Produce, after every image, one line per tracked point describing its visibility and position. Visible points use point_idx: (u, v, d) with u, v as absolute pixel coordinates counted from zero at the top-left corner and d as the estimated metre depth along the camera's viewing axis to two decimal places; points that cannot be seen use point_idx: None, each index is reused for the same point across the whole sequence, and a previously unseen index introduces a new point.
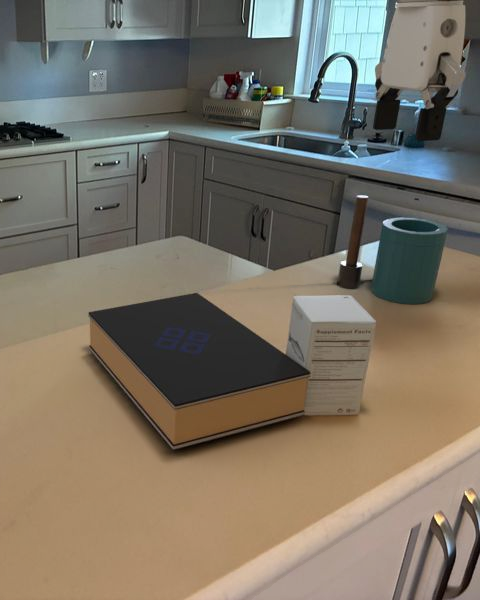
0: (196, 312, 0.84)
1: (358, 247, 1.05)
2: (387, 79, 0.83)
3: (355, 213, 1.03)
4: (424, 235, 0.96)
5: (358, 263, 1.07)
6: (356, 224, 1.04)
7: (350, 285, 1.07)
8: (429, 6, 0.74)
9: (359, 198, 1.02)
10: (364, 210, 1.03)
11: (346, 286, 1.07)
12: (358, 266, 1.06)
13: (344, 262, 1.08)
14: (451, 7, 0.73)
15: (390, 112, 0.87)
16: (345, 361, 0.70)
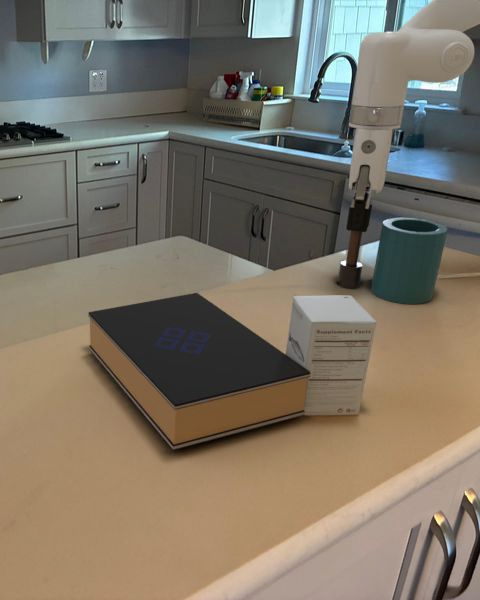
0: (196, 312, 0.84)
1: (358, 247, 1.05)
2: None
3: None
4: (424, 235, 0.96)
5: (358, 263, 1.07)
6: None
7: (350, 285, 1.07)
8: (357, 128, 0.96)
9: None
10: None
11: (346, 286, 1.07)
12: (358, 266, 1.06)
13: (344, 262, 1.08)
14: (371, 131, 0.94)
15: None
16: (345, 361, 0.70)
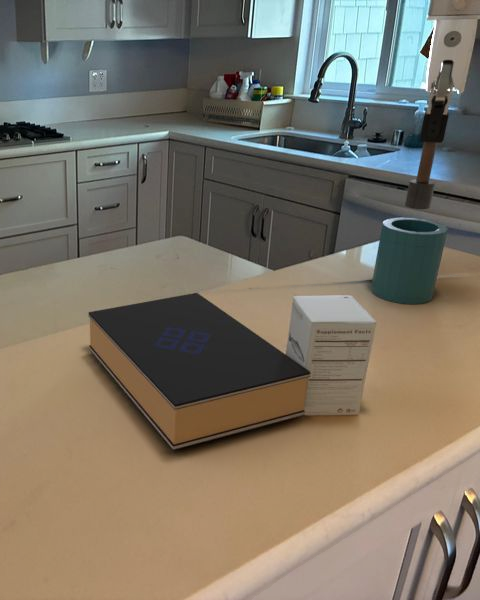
0: (196, 312, 0.84)
1: (431, 161, 0.95)
2: None
3: None
4: (424, 235, 0.96)
5: (430, 181, 0.97)
6: None
7: (420, 205, 0.97)
8: (439, 20, 0.86)
9: None
10: None
11: (416, 206, 0.97)
12: (431, 183, 0.96)
13: (414, 180, 0.98)
14: (456, 21, 0.84)
15: None
16: (345, 361, 0.70)
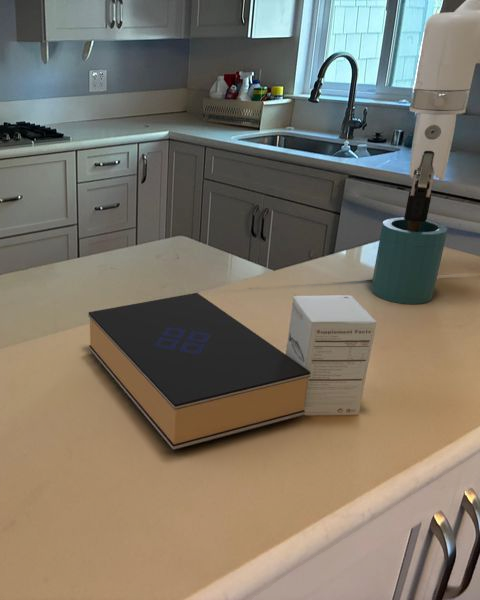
0: (196, 312, 0.84)
1: None
2: None
3: None
4: (424, 235, 0.96)
5: None
6: None
7: None
8: (421, 113, 0.92)
9: None
10: None
11: None
12: None
13: None
14: (436, 116, 0.91)
15: None
16: (345, 361, 0.70)
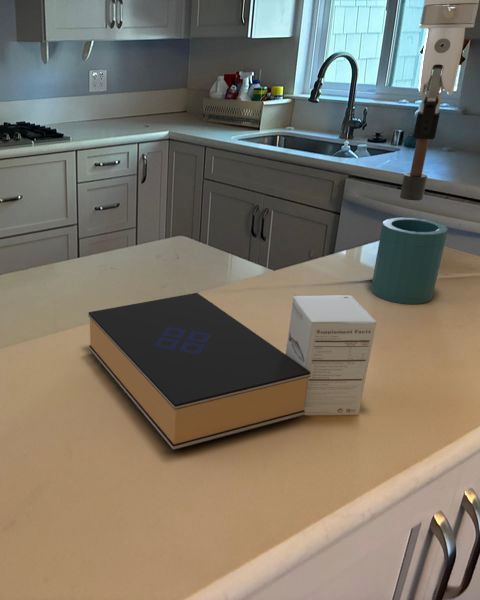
0: (196, 312, 0.84)
1: (424, 156, 1.04)
2: None
3: None
4: (424, 235, 0.96)
5: (422, 174, 1.07)
6: None
7: (414, 197, 1.06)
8: (430, 28, 0.95)
9: None
10: None
11: (410, 198, 1.07)
12: (423, 176, 1.05)
13: (408, 174, 1.07)
14: (445, 29, 0.94)
15: None
16: (345, 361, 0.70)
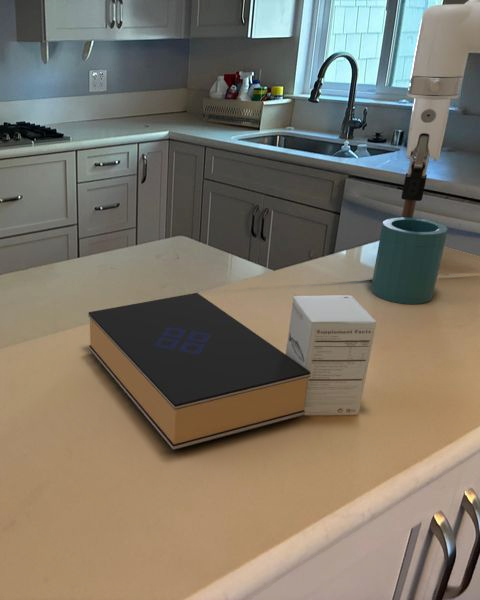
0: (196, 312, 0.84)
1: (412, 216, 1.09)
2: None
3: None
4: (424, 235, 0.96)
5: None
6: None
7: None
8: (417, 98, 1.00)
9: None
10: None
11: None
12: None
13: None
14: (431, 101, 0.98)
15: None
16: (345, 361, 0.70)
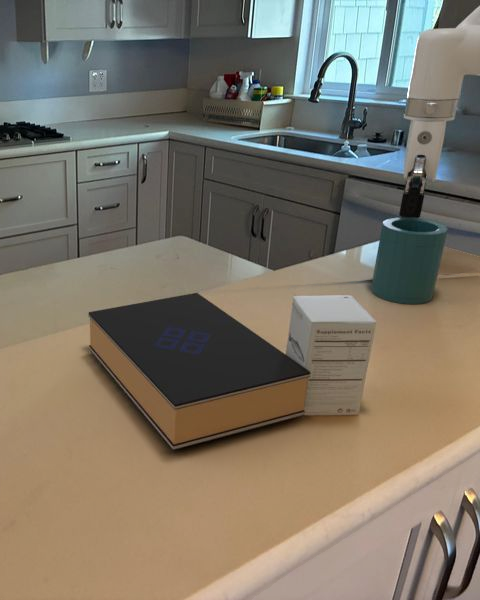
0: (196, 312, 0.84)
1: None
2: None
3: None
4: (424, 235, 0.96)
5: None
6: None
7: None
8: (413, 120, 1.01)
9: None
10: None
11: None
12: None
13: None
14: (427, 123, 0.99)
15: None
16: (345, 361, 0.70)
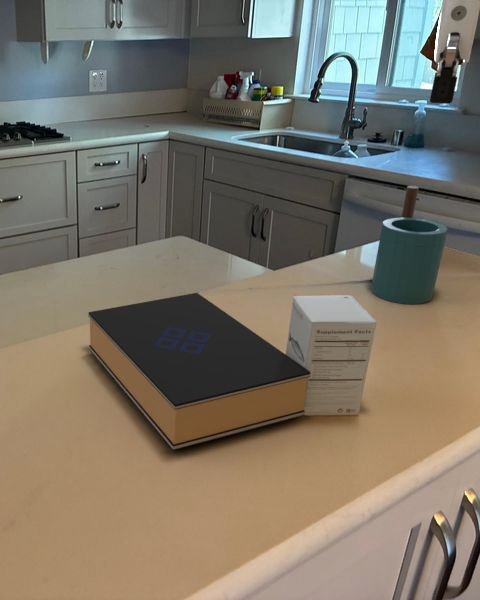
0: (196, 312, 0.84)
1: None
2: None
3: (405, 203, 1.08)
4: (424, 235, 0.96)
5: None
6: (406, 214, 1.09)
7: None
8: None
9: (410, 189, 1.07)
10: (414, 200, 1.07)
11: None
12: None
13: None
14: None
15: None
16: (345, 361, 0.70)
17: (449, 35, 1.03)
